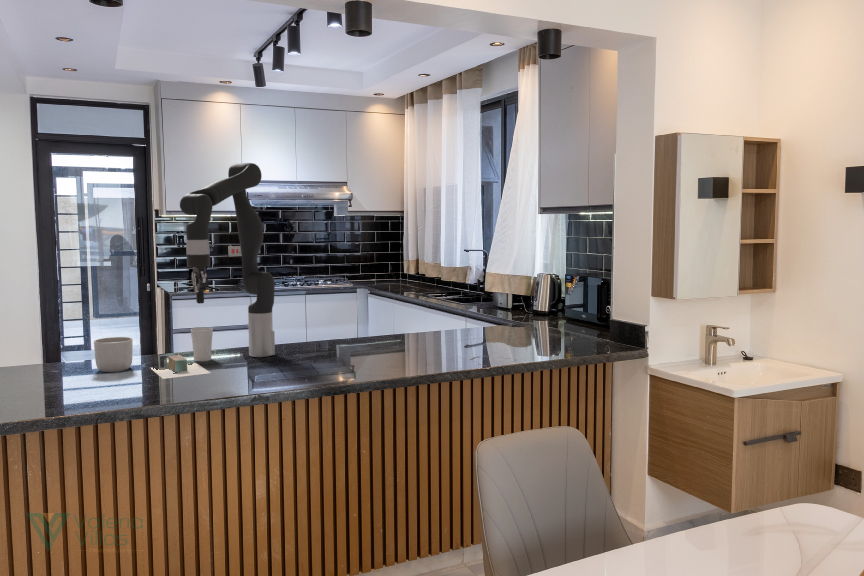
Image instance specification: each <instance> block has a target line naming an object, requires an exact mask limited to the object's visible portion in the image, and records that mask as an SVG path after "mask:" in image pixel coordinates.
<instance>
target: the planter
mask: <svg viewBox="0 0 864 576" xmlns="http://www.w3.org/2000/svg"><path fill="white" fill-rule="evenodd" d="M93 347H94V348H93V349H94V358H95V359H94V360H95V365H96V369H97V370H98V371H100V372H103V373H119V372H123V371H127V370H129V369H130V368H131V367H132V364H133V350H134V349H133V338H132V337H129V336H113V337H112V336H111V337H103V338H97V339H95V340H94V341H93Z"/></svg>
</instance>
